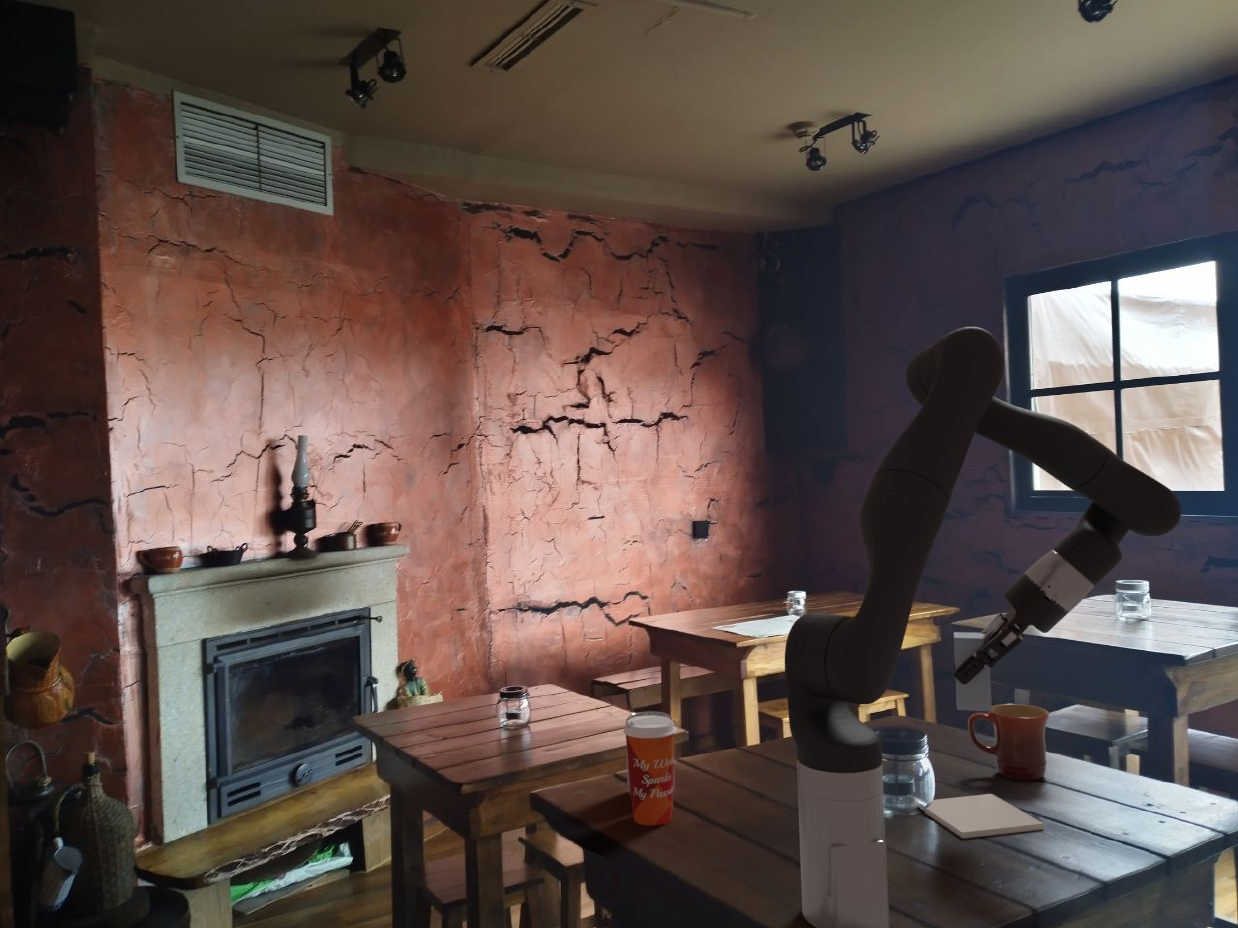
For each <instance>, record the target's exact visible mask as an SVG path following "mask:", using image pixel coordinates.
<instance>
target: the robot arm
mask: <svg viewBox="0 0 1238 928" xmlns="http://www.w3.org/2000/svg"><path fill="white" fill-rule="evenodd" d="M1004 369H1005V359H1004V354H1003V349H1002V346H1001V345H1000V343H999V341H998V339H997V338H996V337H995V336H994V335H993V334H992V333H991V332H990V331H988V330H987V329H984V328H981V327H977V326H965V327H960V328H957V329H954V330H952V331H950V332H948V333H947V334H944V335H943V336H942V337H940V338H939V339H937V340H936V341H935V342H933V343H932V344H930V345H928V346H927V347H926V348H924V349H922V350H921V351H920V352H918V353H917V354H916V355H915V356H914V357H913V358H912V359H911V360H910V362H909V363H908V365H907V368H906V371H905V379H906V381H905V382H906V385H907V387H908V391H909V392H910V394H911V396H912V397H913V398H914V399H915V400H916V401H917V403H918V404H920V405H921V408H920V409H919V411H918V412H917V414H916V415H915V417H914V418H913V419H912V421H911V422H910V423H909V425H908V426H907V427H906V428H905V429H904V431H903V432H902V433H901V434H900V435H899V437H898V438H897V439H896V441H895V442H894V443H893V444H892V446H891V447H890V448H889V450H888V451H887V453H886V455H885V456H884V457H883V459H882V461H881V462H880V464H879V465H878V467H877V468H876V470H875V473H874V474H873V476H872V479H871V481H870V485H869V486H868V489H867V491H866V495H865V497H864V499H863V502H862V505H861V508H860V511H859V526H860V528H859V529H860V534H861V539H862V543H863V545H864V546H863V547H864V549H865V553H866V557H867V560H868V561H867V562H868V566H869V567H868V568H869V578H868V584H867V587H866V590H865V594H864V597H863V599H862V603H861V605H860V607H859V609H858V611H857V613H856V614H855V615H854V616H849V615H840V614H833V613H832V614H831V613H824V612H811V613H806V614H804V615H801V616H799V617H798V618H797V619H796V620H795V621H794V623H793V624H792V625H791V627H790V630H789V632H788V635H787V638H786V642H785V650H784V675H785V679H784V680H785V688H786V690H785V691H786V698H787V699H786V700H787V711H788V712H787V713H788V722H789V723H788V724H789V729H790V735H791V736H792V739H793V741H794V744H795V747H796V757H797V758H796V761H797V762H796V763H797V765H796V766H797V797H798V799H797V800H798V801H797V803H798V823H799V827H798V828H799V829H798V830H799V855H800V856H799V857H800V858H799V859H800V879H801V880H800V881H801V885H800V886H801V908H802V909H801V911H802V912H801V913H802V916H803V918H804V919H805V921H807V923H809V924H810V925H812V927H815V928H890V915H889V914H890V911H889V909H890V908H889V882H888V881H889V879H888V857H887V856H888V855H887V854H888V853H887V852H888V851H887V844H886V843H887V842H886V833H885V805H884V803H885V802H884V774H883V772H884V769H883V746H882V741H881V738H880V736H879V735H878V733H877V732H876V731H874V729H872V728H871V727H869V726H867V724H865V723H864V722H862V721H861V720H860V719H859V718H858V717H857V716H856V715H854V713H853V712H852V711H851V709H850V708H849V707H848V705H847V703H850V704H855V705H871V704H874V703H875V702H878V700H880V699H881V697H882V696H883V695H885V693H886V692H887V690H888V689H889V686H890V684H891V682H892V680H893V677H894V674H895V672H896V668H897V666H898V662H899V658H900V656H901V652H902V648H903V643H904V640H905V635H906V631H907V628H908V623H909V619H910V615H911V612H912V608H913V604H914V601H915V597H916V593H917V590H918V587H919V585H920V582H921V578H922V575H923V573H924V570H925V567H926V564H927V561H928V558H929V556H930V552H931V550H932V548H933V545H934V542H935V541H936V538H937V536H938V533H939V531H940V529H941V526H942V524H943V520H944V518H945V516H946V512H947V510H948V507H949V505H950V501H951V498H952V495H953V492H954V491H953V490H954V489H955V486H956V483H957V481H958V478H959V477H960V472H961V470H962V468H963V465H964V463H965V460H966V457H967V455H968V452H969V448H970V446H971V443H972V441H973V437H974V435H975V434H977V435H979V436H981V437H983V438H985V439H987V440H989V441H991V442H993V443H995V444H998V445H1000V446H1001V447H1004V448H1005V449H1008V451H1009V450H1010V451H1011V452H1013V453H1015V454H1017V455H1019V456H1020V457H1022V458H1023V459H1026V460H1027V461H1028V462H1031V463H1032V464H1034V465H1035V466H1037V467H1038V468H1040V469H1042V470H1043V471H1045V472H1046V473H1048V474H1049V475H1050V476H1052V477H1053V478H1054V479H1055V480H1057V481H1058V482H1060V483H1061V484H1063V485H1065V487H1067V488H1068V489H1070V490H1071V491H1074V492H1075V493H1077V494H1079V495H1081V496H1083V497H1084V498H1086V499H1089V500H1091V503H1090V504H1089V505H1088V507H1087V509H1086V510H1085V512H1083V514H1082V515H1081V518H1080V519H1079V521H1078V523H1077V524H1076V526H1075V527H1074V529H1072V530H1071V531H1070V532H1069V533H1068V534H1067V535H1066V536H1065V537H1063V539H1062V540H1060V541H1059V542H1058V543H1057V544H1056V545H1055V546H1054V547H1053V548H1052V549H1051V550H1050V551H1049V552H1047V553H1046V554H1044V555H1043V556H1042V557H1040V558H1039V559H1038V560H1037V561H1035V562H1034V564H1032V565H1031V566H1030V567H1029V568H1028V569H1027V570H1025V572H1024V573H1023V574H1022V575H1020V576H1019V578H1018V579H1016V580H1015V581H1014V582H1013V583H1011V585H1010V586H1009V587H1008V588H1007V589H1006V590H1005V591H1004V592H1003V596H1002V597H1003V599H1004V600H1005V601H1006V602H1007V603H1008V604H1009V605H1010V606H1011V607H1012V608H1010V609H1009V610H1008V611H1006V613H1003V612H1000V613H997V614H996V616H995V617H994V618H993V619H992V621H991V622H990V623H989V624H988V625H987V626H986V627H985V628H983V630H981V632H980V633H982V634H985V635H984V636H983V638H982V645H981V646H979V647H978V648H977V649H976V650H975V651H973V654H972V655H971V656H970V657H969V658H968V659H967V660H966V661H965V662H964V663H963V664H962V665H960V666H959V667H958V668H957V669H956V670H955V662H954V663H953V665H952V667H953V670H954V671H953V677H954V678H955V679H956V678H957V679H958V680H959V681H960V682H961V683H962V684H964V685H965V684H967V683H968V682H969V681H971V680H972V679H973V678H974V677H975V676H976V675H977V674H978V673H979V672H980V671H981V670H982V669H983V668H984V667H985V668H987V667H989V668H990V669H991V668H992V667H994V666H995V664H997V662H999V661H1000V660H1002V659H1003V658H1004V657H1005V656H1006V655H1008V653H1009V652H1011V651H1012V650H1013V649H1015V648H1016V647H1017V646H1019V645H1020V644H1021V643H1022V641H1023V639H1024V638H1025V635H1024V632H1025V631H1026V630H1027V629H1028V628H1029V626H1033V627H1034V628H1035V629H1037V630H1038V631H1039V632H1040V633H1043V634H1047V633H1049V632H1050V631H1051V630H1052V629H1053V628H1055V626H1057V624H1058V623H1059V622H1060V621H1061V620H1062V619H1064V618H1065V617H1066V616H1067V615H1068V614H1069V613H1070V612H1071V611H1072V610H1074V609H1075V608H1076V606H1078V605H1079V604H1080V603H1081V602H1083V600H1084V599H1085V598H1086V597H1087V595H1088V594H1089V593H1090V592H1091V590H1092V589H1093V588H1094V587H1095V586H1096V585H1098V583H1099V582H1100V581H1102V580H1103V579H1104V578H1105V577H1106V576H1107V575H1108V574H1109V573H1110V572H1111V571H1112V570H1114V569H1115V567H1116V566H1118V564H1119V563H1120V562H1121V560H1122V556H1123V553H1122V551H1121V549H1120V547H1119V545H1120V543H1121V542H1122V540H1123V539H1124V537H1126V536H1127V535H1126V534H1127V533H1128V532H1129V531H1131V532H1133V533H1134V534H1137V535H1140V536H1144V537H1159V536H1163V535H1166V534H1168V533H1170V532H1171V531H1172V530H1174V528H1176V527H1177V525H1178V524H1179V523H1180V519H1181V518H1182V517H1181V516H1182V507H1181V502H1180V501H1179V498H1178V496H1177V495H1176V494H1175V492H1173V490H1171V489H1170V488H1169V487H1168V486H1166V485H1164V484H1163V483H1161V482H1160V481H1158V480H1157V479H1154V478H1153V477H1152V476H1150V475H1148V474H1147V473H1145V472H1143V471H1142V470H1141V469H1139V468H1136V467H1135V466H1133V465H1132V464H1130V463H1128V462H1127V461H1125V460H1124V459H1122V458H1121V457H1119V456H1118V455H1117V454H1116V453H1115V452H1113V451H1112V450H1111V449H1110V448H1109V447H1108V446H1107V445H1104V444H1103V443H1102V442H1100V440H1097V438H1095V437H1093V436H1092V435H1091V434H1089V433H1088V432H1086V431H1085V430H1083V429H1082V428H1080V427H1078V426H1077V425H1075V424H1073V423H1071V422H1068V421H1065V420H1063V419H1062V418H1058V417H1054V416H1053V415H1048V414H1045V413H1041V412H1038V411H1034V410H1030V409H1026V408H1023V407H1019V406H1017V405H1014V404H1011V403H1009V402H1006V401H1004V400H1001V399H999V398H998V397H996V396H995V395H996V392H997V390H998V389H999V387H1000V384H1001V382H1002V378H1003V375H1004ZM988 649H989V652H990V655H989V654H988V653H986V652H985V651H987V650H988ZM991 654H992V655H991Z"/></svg>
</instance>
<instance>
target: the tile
mask: <svg viewBox="0 0 1238 928" xmlns="http://www.w3.org/2000/svg"><path fill="white" fill-rule="evenodd" d="M932 800H933V802H932V804H931V805H930V806H929V807H928V808H926V811H925V812H924V813H925V814H926V815H927V816H929V817H931V818H932V819H933V820H935V821H936V822H938V823H940V824H941V825H942V826H943V827H945V828H947V829H948V830H950V832H953V833H954V834H956V835H957V836H958V837H960V838H961V839H963V840H964V839H970V838H972V839H973V838H979V837H980V838H981V837H988V836H989V837H990V836H998V835H1006V834H1007V835H1008V834H1014V833H1022V832H1023V833H1024V832H1025V833H1026V832H1032V831H1040V830H1041V831H1042V830H1044V829H1045V828H1044V823H1043V822H1042V821H1040V820H1038V819H1036V818H1035V817H1033V816H1031V815H1029V814H1028V813H1026V812H1024V811H1022V810H1021V809H1020V808H1017V807H1015V806H1013V805H1012V804H1010V802H1007V801H1005V800H1003V799H1001V798H1000V797H999V796H997V795H995V794H993V793H985V794H978V795H968V796H958V797H948V798H947V797H946V798H938V799H932Z"/></svg>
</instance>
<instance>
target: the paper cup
mask: <svg viewBox="0 0 1238 928" xmlns="http://www.w3.org/2000/svg"><path fill="white" fill-rule="evenodd" d="M672 720H673V719H672ZM672 720H671V719H670V718H667V717H663V716H639V717H634V718H631V719H629V720H628V721H627V722H626V721H625V727H624V729H623V734H624V735H625V740H626V741H625V742H626V743H627V745H626V756H627V755H628V770H629V780H630V790H631V795H630V798H631V808H632V809H631V810H632V817H633V821H634V823H636V824H638V825H641V826H647V827H649V826H650V827H656V826H662V825H663V826H665V825H666V824H668V823H670V822H671V821H672V818H673V803H674V798H673V797H674V793H673V772H674V773H675V758H674V757H675V733H676V732H677V730H678V728H677V727H676V726H675V724H676V723H675V722H674V721H673V722H672Z"/></svg>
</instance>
